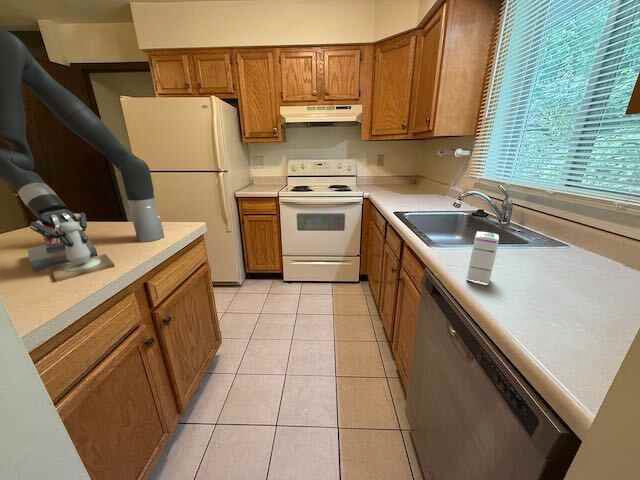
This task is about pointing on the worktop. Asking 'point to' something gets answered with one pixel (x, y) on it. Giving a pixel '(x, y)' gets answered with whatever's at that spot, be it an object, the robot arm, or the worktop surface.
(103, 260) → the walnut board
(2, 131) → the robot arm
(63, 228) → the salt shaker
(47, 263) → the collar block
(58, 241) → the soda can
